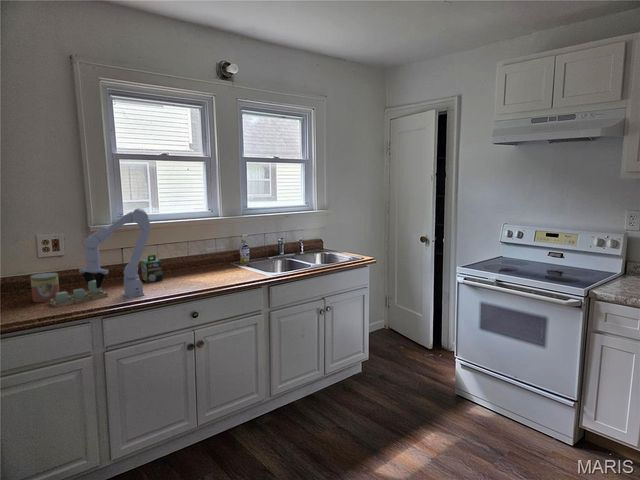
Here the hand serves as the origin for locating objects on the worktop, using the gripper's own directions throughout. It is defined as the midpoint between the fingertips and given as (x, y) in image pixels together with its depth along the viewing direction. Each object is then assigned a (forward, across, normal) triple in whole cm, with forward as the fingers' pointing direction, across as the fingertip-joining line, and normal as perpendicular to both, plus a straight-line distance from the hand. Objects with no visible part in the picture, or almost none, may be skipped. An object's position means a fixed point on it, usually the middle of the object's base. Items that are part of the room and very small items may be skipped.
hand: (94, 287), depth 205 cm
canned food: (+5, +21, +7) cm, 23 cm away
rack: (+5, +4, +6) cm, 9 cm away
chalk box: (+5, -7, -39) cm, 40 cm away
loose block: (+2, 0, 0) cm, 2 cm away
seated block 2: (+5, +4, +6) cm, 9 cm away
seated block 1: (+5, +8, +12) cm, 15 cm away
